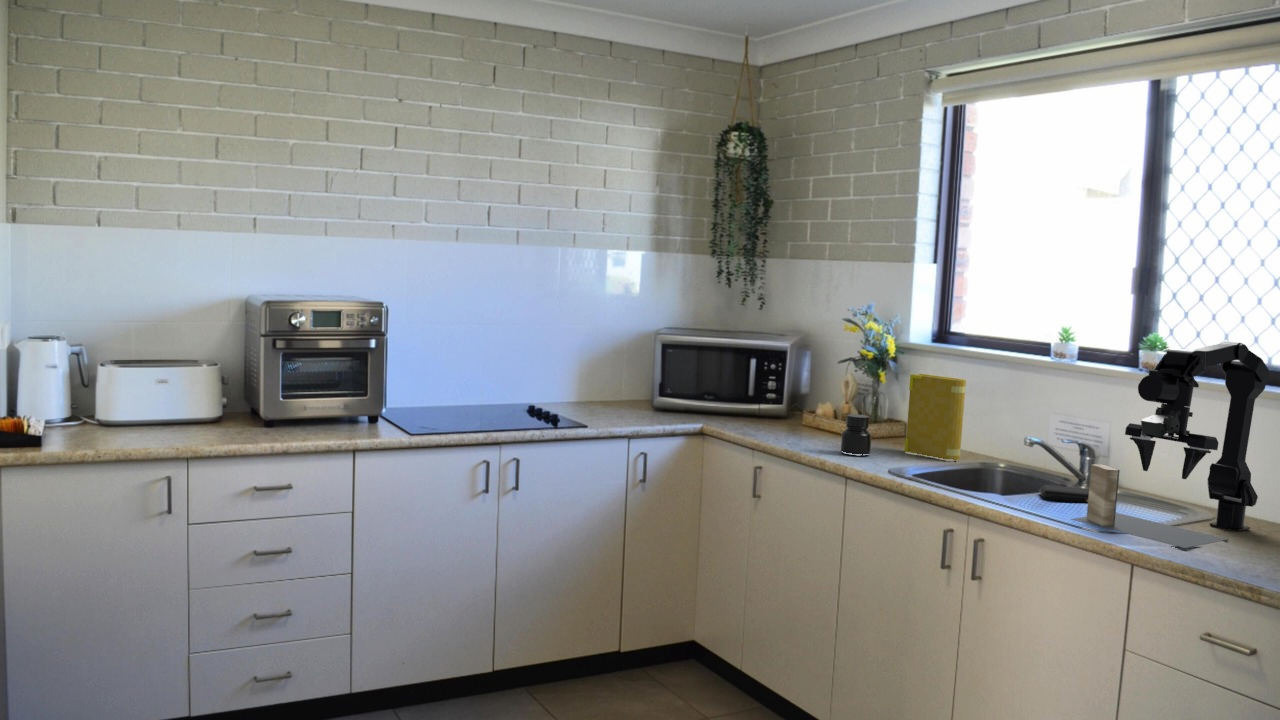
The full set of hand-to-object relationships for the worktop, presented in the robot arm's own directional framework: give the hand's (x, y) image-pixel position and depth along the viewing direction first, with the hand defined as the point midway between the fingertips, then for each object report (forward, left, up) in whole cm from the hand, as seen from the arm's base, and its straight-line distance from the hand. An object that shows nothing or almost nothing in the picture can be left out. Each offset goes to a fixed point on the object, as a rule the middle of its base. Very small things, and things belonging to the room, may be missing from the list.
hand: (1164, 474), depth 232 cm
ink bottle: (-10, -102, -14) cm, 103 cm away
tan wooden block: (+2, -13, -14) cm, 19 cm away
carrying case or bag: (-17, -33, -15) cm, 40 cm away
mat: (-3, -4, -14) cm, 15 cm away
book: (-32, -90, -14) cm, 97 cm away
